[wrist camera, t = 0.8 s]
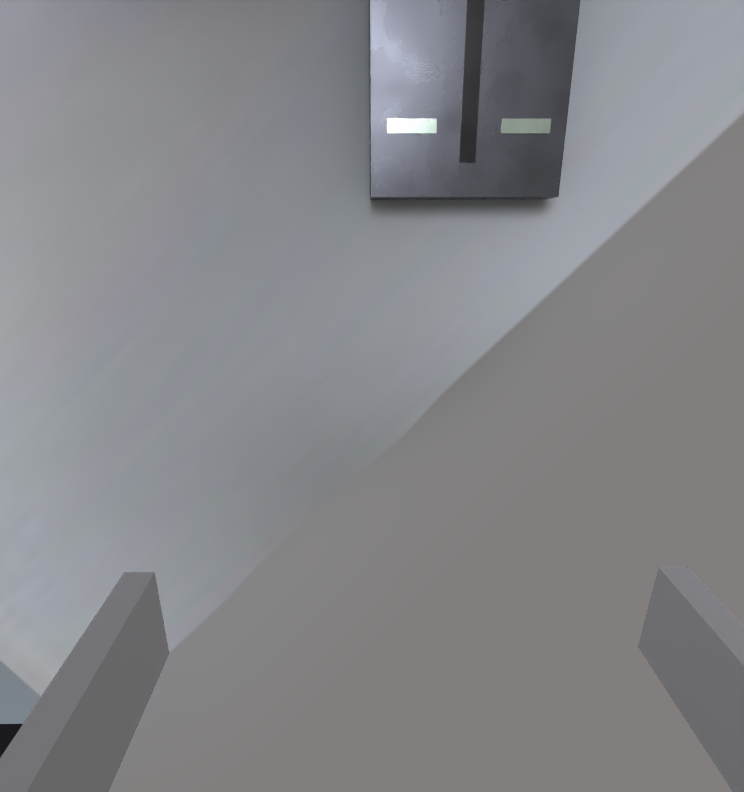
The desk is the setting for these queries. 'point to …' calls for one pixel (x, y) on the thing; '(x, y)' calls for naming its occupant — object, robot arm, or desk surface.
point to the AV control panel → (469, 97)
